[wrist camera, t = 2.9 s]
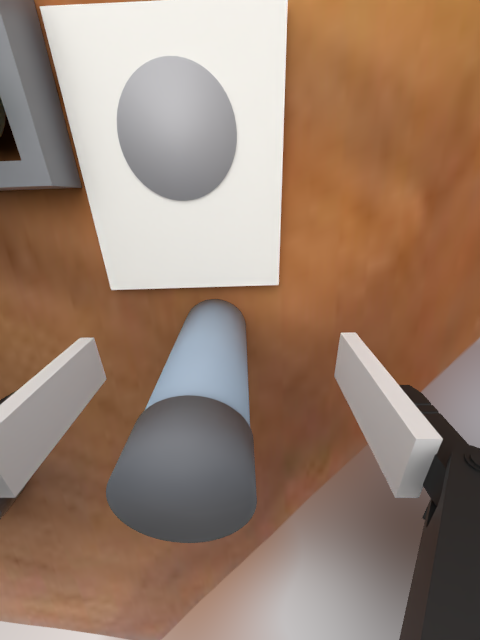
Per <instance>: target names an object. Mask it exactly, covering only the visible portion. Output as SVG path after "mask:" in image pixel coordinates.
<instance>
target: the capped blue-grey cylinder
mask: <svg viewBox="0 0 480 640" xmlns="http://www.w3.org/2000/svg"><path fill="white" fill-rule="evenodd" d="M106 497H107V501H108V504H109V506H110V508H111V510H112V511H113V512H114V514H115V515H116V516H117V517H118V518H119V519H120V520H121V521H122V522H123V523H125V524H126V525H127V526H129V527H131V528H132V529H134V530H136V531H138V532H140V533H142V534H145V535H147V536H150V537H153V538H156V539H160V540H165V541H171V542H180V543H198V542H206V541H212V540H216V539H220V538H223V537H225V536H228V535H230V534H232V533H234V532H236V531H238V530H239V529H241V528H242V527H243V526H244V525H245V524H247V523H248V521H249V520H250V519H251V518H252V516H253V514H254V512H255V509H256V503H257V498H256V479H255V460H254V442H253V434H252V431H251V428H250V414H249V390H248V366H247V342H246V323H245V319H244V317H243V315H242V313H241V312H240V310H239V309H238V308H237V307H235V306H234V305H233V304H231V303H229V302H227V301H224V300H219V299H210V300H205V301H202V302H200V303H198V304H197V305H195V306H194V307H193V308H192V309H191V311H190V312H189V314H188V316H187V318H186V320H185V322H184V324H183V327H182V329H181V331H180V333H179V336H178V338H177V340H176V342H175V344H174V347H173V349H172V351H171V353H170V355H169V358H168V360H167V362H166V364H165V366H164V369H163V371H162V373H161V375H160V377H159V380H158V382H157V384H156V386H155V388H154V391H153V393H152V395H151V397H150V400H149V402H148V404H147V406H146V408H145V411H143V413H142V414H141V415H140V416H139V418H138V419H137V421H136V423H135V425H134V427H133V429H132V432H131V434H130V436H129V438H128V440H127V442H126V444H125V447H124V449H123V451H122V453H121V455H120V457H119V459H118V461H117V464H116V466H115V468H114V470H113V472H112V474H111V476H110V479H109V481H108V484H107V488H106Z"/></svg>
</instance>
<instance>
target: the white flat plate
mask: <svg viewBox="0 0 480 640" xmlns="http://www.w3.org/2000/svg"><path fill="white" fill-rule="evenodd" d="M287 6H288V0H161V1H140V2H119V3H98V4H77V5H56V6H40V10H41V14H42V18H43V22H44V26H45V30H46V34H47V38H48V42H49V46H50V50H51V54H52V57H53V61H54V65H55V69H56V73H57V77H58V81H59V85H60V89H61V93H62V97H63V101H64V105H65V109H66V113H67V117H68V121H69V125H70V129H71V133H72V137H73V141H74V145H75V149H76V153H77V157H78V160H79V164H80V168H81V172H82V176H83V180H84V184H85V188H86V192H87V196H88V200H89V204H90V208H91V212H92V216H93V220H94V224H95V228H96V232H97V236H98V240H99V244H100V248H101V252H102V256H103V260H104V263H105V267H106V271H107V275H108V279H109V283H110V287H111V290H128V289H162V288H195V287H228V286H261V285H279V258H280V227H281V195H282V163H283V132H284V100H285V69H286V37H287Z"/></svg>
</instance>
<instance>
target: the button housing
mask: <svg viewBox="0 0 480 640" xmlns="http://www.w3.org/2000/svg"><path fill="white" fill-rule="evenodd" d="M0 97H1V100H2V103H3V106H4V109H5V112H6V115H7V118H8V121H9V124H10V127H11V130H12V133H13V136H14V139H15V142H16V145H17V148H18V151H19V154H20V157H21V160H20V161H0V191H5V190H33V189H60V188H82V186H81V182H80V178H79V174H78V170H77V166H76V163H75V159H74V155H73V151H72V147H71V143H70V139H69V135H68V132H67V128H66V124H65V120H64V116H63V112H62V108H61V104H60V100H59V97H58V93H57V89H56V85H55V81H54V77H53V73H52V69H51V65H50V62H49V58H48V54H47V50H46V46H45V42H44V38H43V34H42V31H41V27H40V23H39V19H38V15H37V11H36V7H35V3H34V0H0Z"/></svg>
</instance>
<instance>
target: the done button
mask: <svg viewBox="0 0 480 640" xmlns="http://www.w3.org/2000/svg"><path fill="white" fill-rule="evenodd" d="M4 125H5V109H4V106H3V103H2V100H1V97H0V137H1V135H2V133H3V130H4Z"/></svg>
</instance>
